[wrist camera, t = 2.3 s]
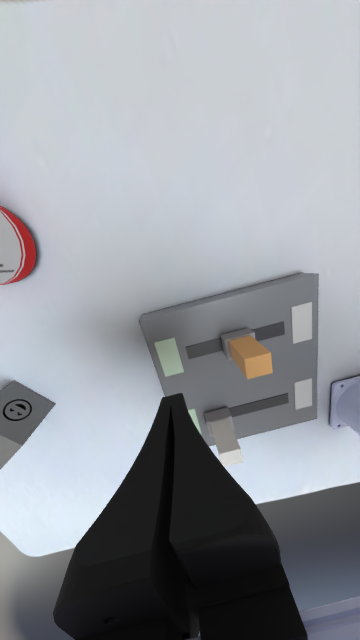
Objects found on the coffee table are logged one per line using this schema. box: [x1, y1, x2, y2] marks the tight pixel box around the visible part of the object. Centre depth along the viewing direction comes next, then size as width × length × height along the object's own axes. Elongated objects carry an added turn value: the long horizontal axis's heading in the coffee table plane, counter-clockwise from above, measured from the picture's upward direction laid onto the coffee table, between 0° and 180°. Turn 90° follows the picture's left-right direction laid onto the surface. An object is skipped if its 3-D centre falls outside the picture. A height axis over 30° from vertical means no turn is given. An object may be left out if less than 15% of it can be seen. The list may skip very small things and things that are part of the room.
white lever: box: [204, 407, 243, 467], centre depth 18 cm, size 3×2×4 cm
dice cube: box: [0, 381, 56, 469], centre depth 18 cm, size 5×5×5 cm
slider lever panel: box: [139, 273, 319, 446], centre depth 19 cm, size 17×18×2 cm
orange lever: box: [221, 328, 273, 379], centre depth 15 cm, size 3×2×4 cm
